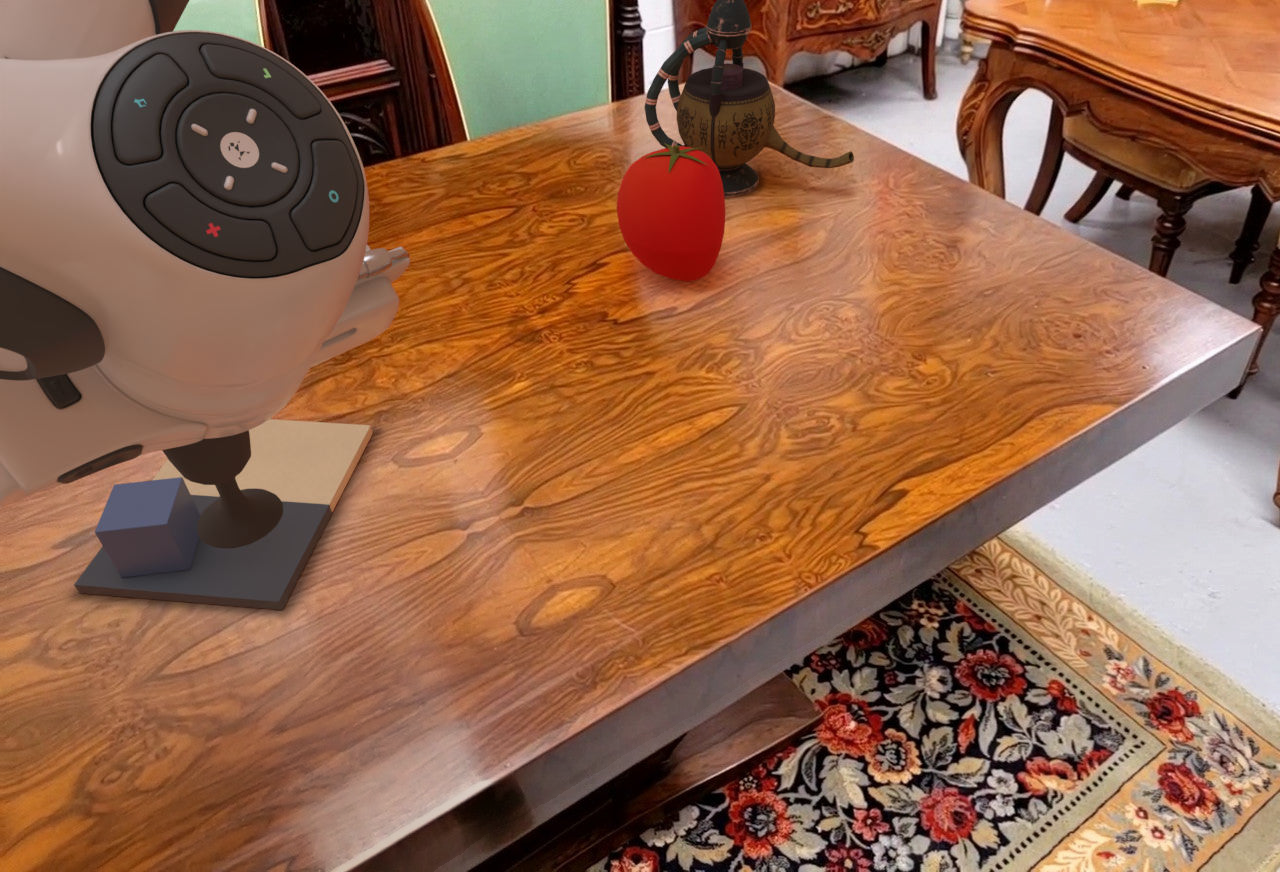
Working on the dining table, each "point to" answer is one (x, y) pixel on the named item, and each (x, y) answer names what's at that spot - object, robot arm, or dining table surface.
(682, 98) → the teapot
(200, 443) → the sundae
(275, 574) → the board
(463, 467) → the dining table surface
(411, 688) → the dining table surface
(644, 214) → the tomato
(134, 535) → the blue block
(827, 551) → the dining table surface
